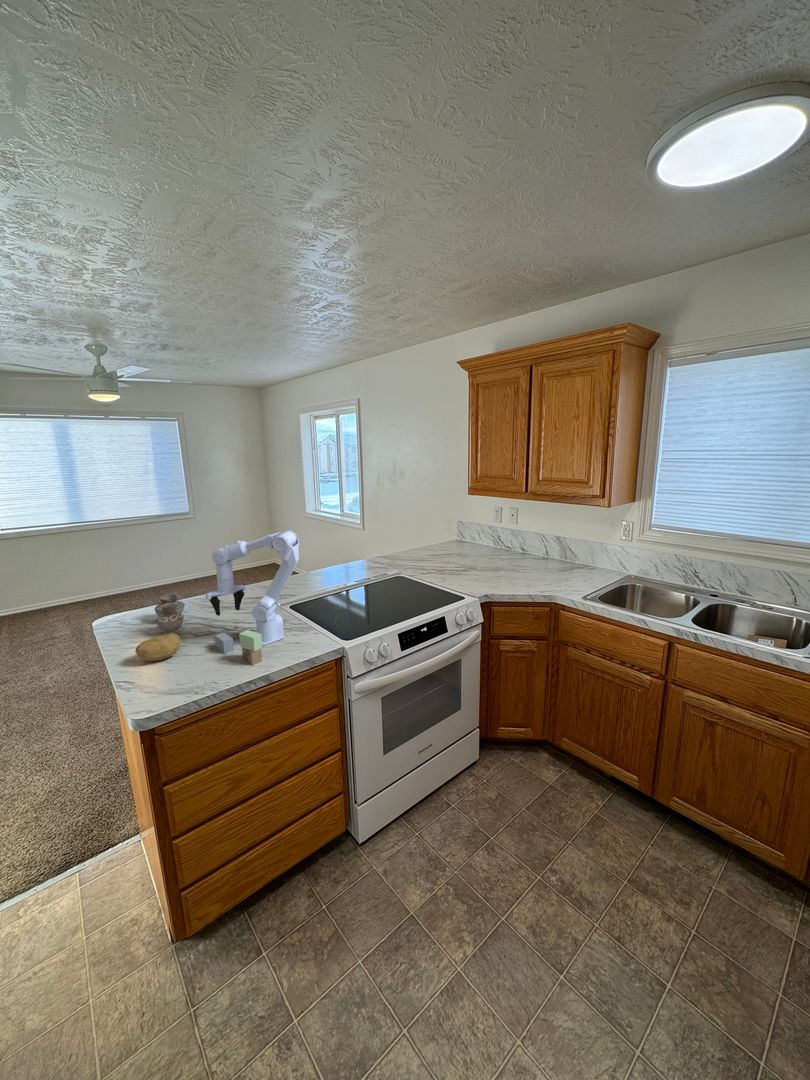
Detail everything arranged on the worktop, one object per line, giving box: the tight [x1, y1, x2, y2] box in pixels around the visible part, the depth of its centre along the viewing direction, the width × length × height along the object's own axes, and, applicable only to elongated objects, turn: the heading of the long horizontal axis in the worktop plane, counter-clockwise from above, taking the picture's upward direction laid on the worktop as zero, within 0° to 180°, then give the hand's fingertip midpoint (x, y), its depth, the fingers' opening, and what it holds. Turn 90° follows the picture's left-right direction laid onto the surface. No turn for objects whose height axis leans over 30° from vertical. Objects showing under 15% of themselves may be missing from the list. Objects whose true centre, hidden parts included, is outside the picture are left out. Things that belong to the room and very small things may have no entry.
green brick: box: [238, 629, 263, 652], centre depth 151 cm, size 7×4×5 cm, turn 61°
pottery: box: [154, 593, 185, 635], centre depth 179 cm, size 11×25×12 cm, turn 29°
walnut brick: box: [241, 647, 263, 666], centre depth 152 cm, size 7×4×5 cm, turn 47°
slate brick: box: [214, 632, 235, 654], centre depth 160 cm, size 7×4×5 cm, turn 47°
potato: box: [135, 633, 181, 662], centre depth 152 cm, size 10×14×8 cm
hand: (227, 612), depth 168 cm, fingers open, 7 cm apart
